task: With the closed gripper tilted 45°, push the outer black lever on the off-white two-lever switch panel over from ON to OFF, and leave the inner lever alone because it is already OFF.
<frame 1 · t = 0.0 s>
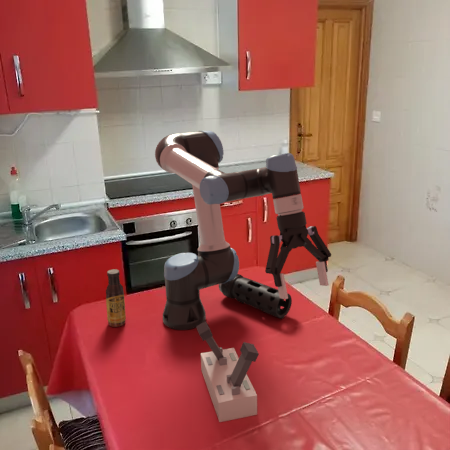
hand: (304, 291, 126), 28 cm above the table, tool tilted 20°, fingers open, 13 cm apart
outer lever: (242, 365, 122), point 12 cm above the table, hinge at -25.0°
muzzle brake: (253, 307, 176), on the table
sauce bottle: (117, 323, 167), on the table
inner lever: (211, 341, 133), point 12 cm above the table, hinge at 25.0°
switch panel: (227, 391, 131), on the table
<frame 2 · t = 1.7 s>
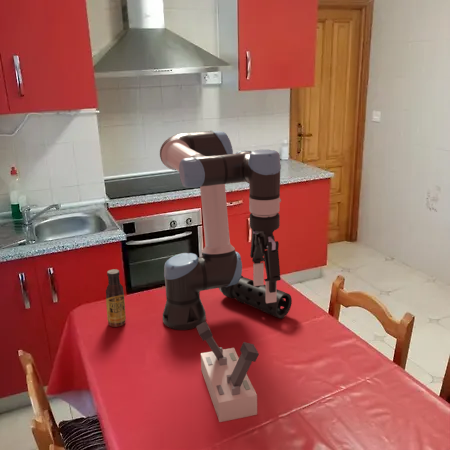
hand: (264, 293, 126), 28 cm above the table, tool pointing down, fingers open, 9 cm apart
nothing on the table moved.
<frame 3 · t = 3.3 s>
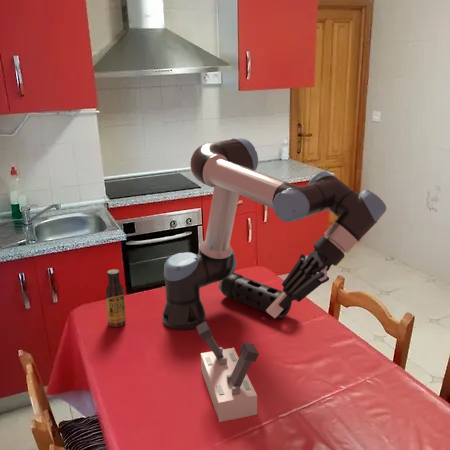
hand: (270, 314, 119), 26 cm above the table, tool tilted 45°, fingers closed
nothing on the table moved.
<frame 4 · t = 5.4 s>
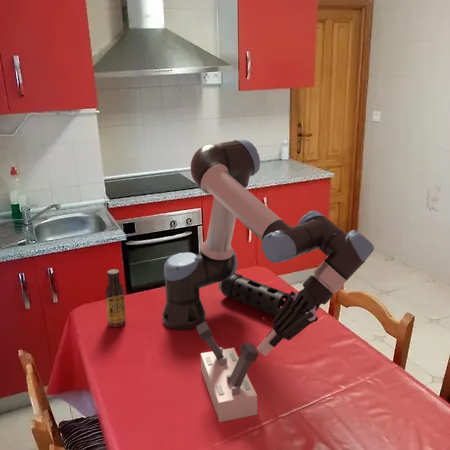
hand: (261, 351, 122), 16 cm above the table, tool tilted 45°, fingers closed
outer lever: (242, 365, 122), point 12 cm above the table, hinge at -24.9°, touching gripper
everything else where it was.
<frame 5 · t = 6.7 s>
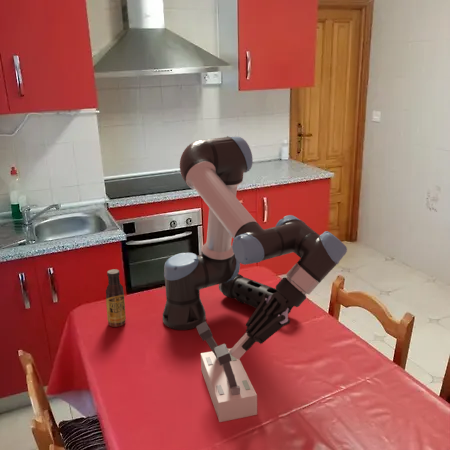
hand: (233, 355, 120), 16 cm above the table, tool tilted 45°, fingers closed
outer lever: (226, 367, 121), point 13 cm above the table, hinge at 13.9°, touching gripper
everything else where it was.
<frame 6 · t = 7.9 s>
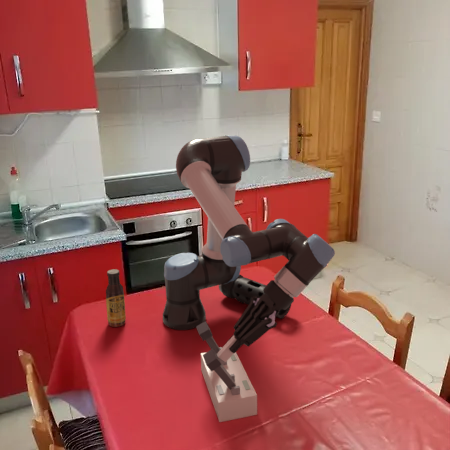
hand: (221, 358, 119), 16 cm above the table, tool tilted 45°, fingers closed
outer lever: (220, 370, 121), point 12 cm above the table, hinge at 30.3°, touching gripper
everything else where it was.
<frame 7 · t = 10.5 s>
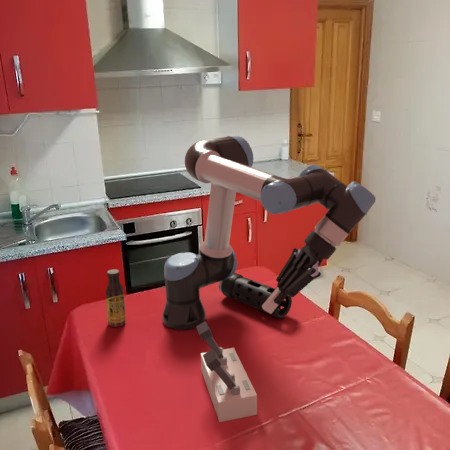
hand: (266, 310, 121), 26 cm above the table, tool tilted 40°, fingers closed
outer lever: (220, 370, 121), point 12 cm above the table, hinge at 30.4°
everything else where it was.
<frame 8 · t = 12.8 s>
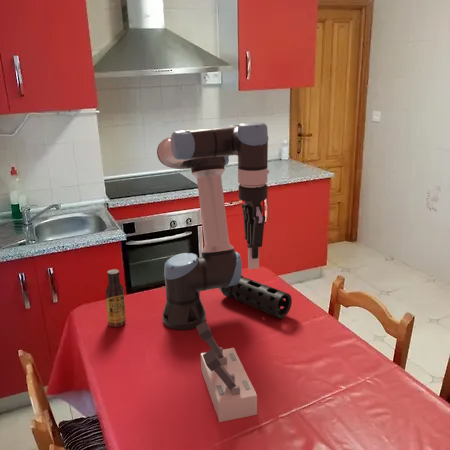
hand: (253, 267, 130), 32 cm above the table, tool pointing down, fingers closed
nothing on the table moved.
at the end: outer lever at +30° (first picture: -25°); inner lever at +25° (first picture: +25°) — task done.
